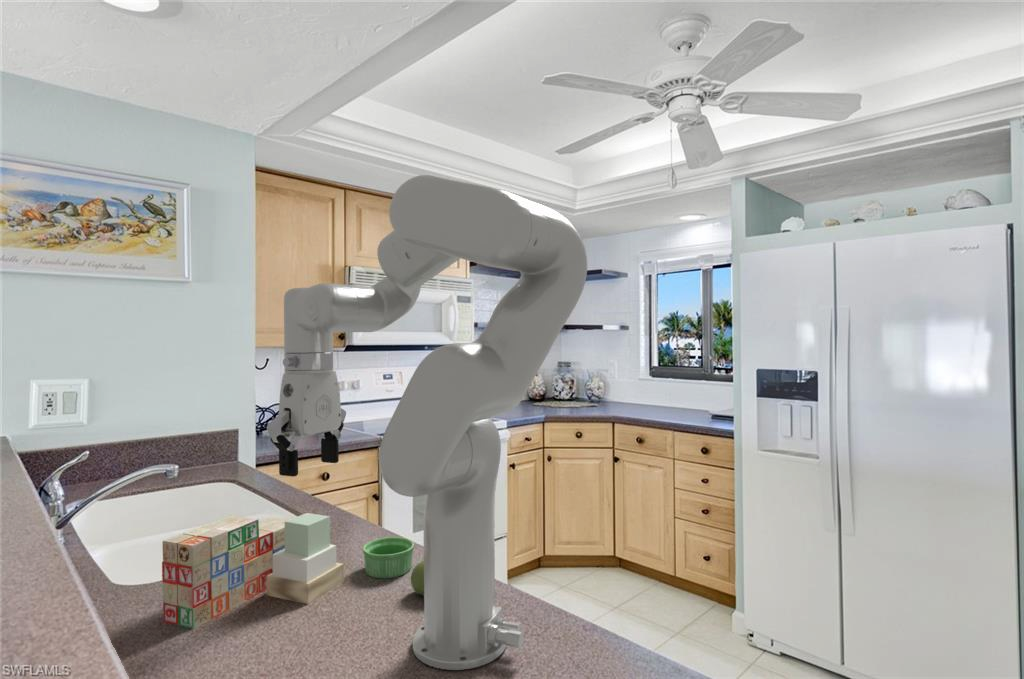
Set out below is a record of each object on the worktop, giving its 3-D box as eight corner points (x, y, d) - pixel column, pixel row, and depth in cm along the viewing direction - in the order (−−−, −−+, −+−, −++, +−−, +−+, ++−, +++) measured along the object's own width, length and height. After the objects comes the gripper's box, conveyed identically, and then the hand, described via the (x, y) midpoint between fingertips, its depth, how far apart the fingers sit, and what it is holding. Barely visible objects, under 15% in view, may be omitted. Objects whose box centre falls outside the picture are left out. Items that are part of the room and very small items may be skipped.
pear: (428, 551, 95) (476, 573, 90) (424, 581, 95) (472, 605, 90) (406, 562, 90) (455, 586, 85) (401, 593, 91) (450, 619, 85)
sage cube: (330, 546, 94) (330, 516, 94) (308, 556, 90) (308, 525, 90) (307, 542, 96) (307, 512, 96) (284, 552, 92) (284, 521, 92)
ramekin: (398, 583, 95) (397, 557, 95) (352, 576, 98) (352, 551, 98) (423, 563, 104) (422, 539, 104) (380, 557, 107) (380, 534, 107)
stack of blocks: (273, 567, 103) (272, 499, 103) (300, 572, 100) (299, 503, 100) (162, 622, 83) (161, 539, 83) (192, 630, 80) (192, 544, 80)
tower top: (336, 566, 95) (336, 545, 95) (306, 582, 88) (306, 560, 88) (303, 560, 98) (303, 539, 98) (272, 576, 91) (272, 554, 91)
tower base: (343, 584, 96) (343, 563, 96) (308, 606, 88) (308, 584, 88) (303, 576, 99) (303, 556, 99) (266, 597, 91) (266, 575, 91)
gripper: (289, 366, 83) (290, 483, 83) (360, 361, 99) (361, 459, 99) (249, 366, 85) (250, 479, 85) (325, 361, 102) (326, 456, 102)
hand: (310, 468), depth 92 cm, fingers open, 9 cm apart
